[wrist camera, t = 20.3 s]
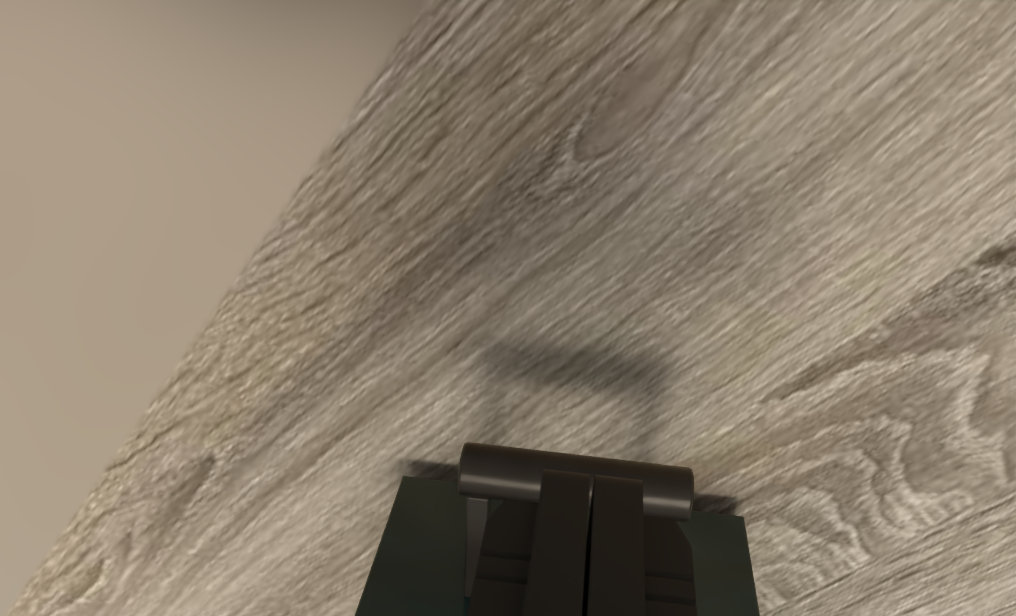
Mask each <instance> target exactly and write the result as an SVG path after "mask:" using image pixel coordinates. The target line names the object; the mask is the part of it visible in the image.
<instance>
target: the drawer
mask: <svg viewBox="0 0 1016 616" xmlns="http://www.w3.org/2000/svg"><path fill="white" fill-rule="evenodd" d="M543 469H548V470H557V471H565V472H574V473H582V474H590V492H589V508H588V520H589V512H590V504H591V496H592V488H593V480H594V475H601V476H610V477H618V478H627V479H636V480H642V482H643V515H644V516H651V517H659V518H668V519H675V520H676V522H677V523H678V525H679V526H680V528H681V530H682V531H683V533H684V535H685V536H686V538H687V540H688V541H689V543H690V545H691V546H692V556H693V568H694V582H695V592H696V606H697V616H760V614H759V608H758V602H757V596H756V589H755V583H754V577H753V571H752V565H751V559H750V553H749V546H748V540H747V534H746V528H745V522H744V517H742V516H734V515H725V514H717V513H708V512H700V511H692V506H693V497H694V476H693V472H692V469H690V468H687V467H679V466H670V465H661V464H653V463H644V462H635V461H627V460H618V459H609V458H601V457H592V456H583V455H575V454H566V453H557V452H549V451H540V450H531V449H523V448H514V447H505V446H497V445H488V444H479V443H471V442H467V443H465V444H464V446H463V449H462V453H461V458H460V464H459V473H458V483H457V482H449V481H441V480H432V479H424V478H416V477H407V476H403V478H402V481H401V483H400V486H399V489H398V492H397V495H396V498H395V501H394V504H393V507H392V509H391V512H390V515H389V518H388V521H387V524H386V527H385V530H384V533H383V535H382V538H381V541H380V544H379V547H378V550H377V553H376V556H375V559H374V561H373V564H372V567H371V570H370V573H369V576H368V579H367V582H366V585H365V587H364V590H363V593H362V596H361V599H360V602H359V605H358V608H357V610H356V613H355V616H467V611H468V607H469V602H470V597H471V592H472V587H473V583H474V578H475V574H476V568H477V563H478V559H479V555H480V549H481V544H482V539H483V535H484V530H485V525H486V521H487V520H488V519H489V518H490V517H491V515H492V514H493V513H494V512H495V511H496V509H497V508H498V507H499V506H500V505H501V503H502V502H503V501H504V500H505V499H508V500H516V501H524V502H533V503H539V496H540V489H541V482H542V475H543ZM587 529H588V524H587Z"/></svg>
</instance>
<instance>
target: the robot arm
mask: <svg viewBox="0 0 1016 616" xmlns="http://www.w3.org/2000/svg"><path fill="white" fill-rule="evenodd" d="M589 492H590V474H582V473H574V472H565V471H557V470H548V469H543V475H542V482H541V489H540V496H539V503H533V502H524V501H516V500H508V499H505V500H504V501H503V502H502V503H501V505H500V506H499V507H498V508H497V509H496V511H495V512H494V513H493V514H492V515H491V517H490V518H489V519H488V520H487V521H486V525H485V530H484V535H483V539H482V544H481V549H480V555H479V559H478V563H477V568H476V574H475V578H474V583H473V587H472V592H471V597H470V602H469V607H468V611H467V616H697V606H696V592H695V582H694V568H693V556H692V546H691V545H690V543H689V541H688V540H687V538H686V536H685V535H684V533H683V531H682V530H681V528H680V526H679V525H678V523H677V522H676V520H675V519H668V518H659V517H651V516H644V515H643V482H642V480H636V479H627V478H618V477H610V476H601V475H594V480H593V488H592V496H591V504H590V512H589V520H588V508H589ZM587 524H588V529H587Z"/></svg>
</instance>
